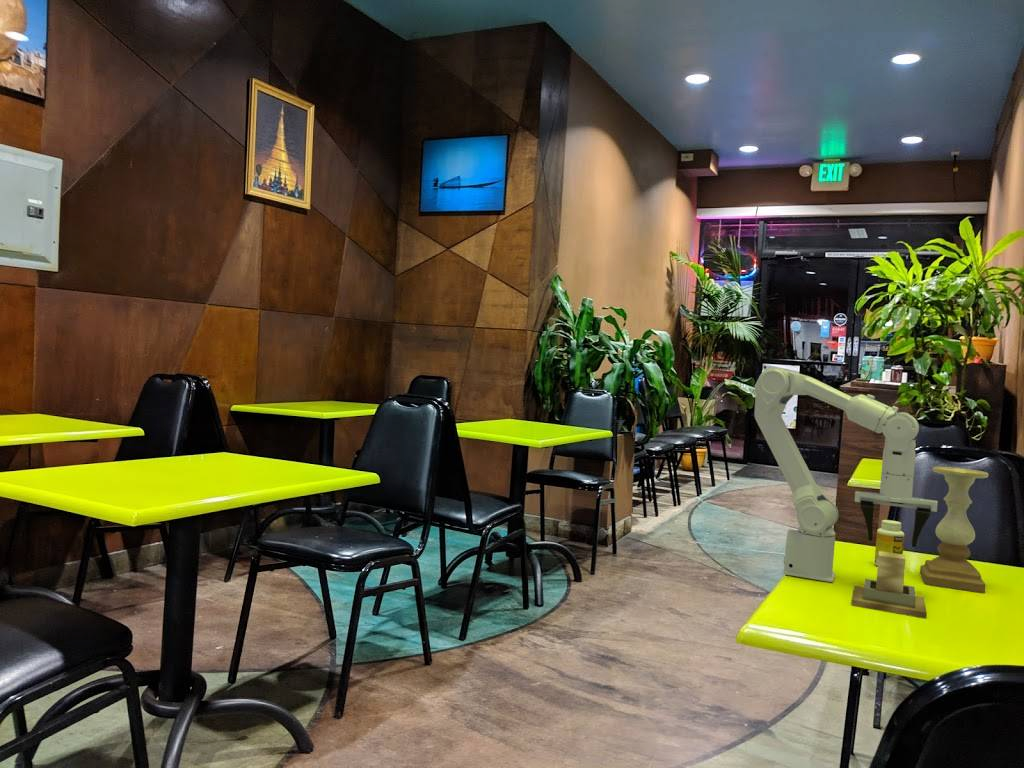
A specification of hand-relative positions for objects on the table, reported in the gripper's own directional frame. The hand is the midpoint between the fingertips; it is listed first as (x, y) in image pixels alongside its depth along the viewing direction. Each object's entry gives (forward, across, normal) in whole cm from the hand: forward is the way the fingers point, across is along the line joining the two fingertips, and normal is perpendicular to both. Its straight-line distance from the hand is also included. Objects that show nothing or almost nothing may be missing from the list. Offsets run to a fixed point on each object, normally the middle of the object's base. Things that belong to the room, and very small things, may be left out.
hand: (891, 543), depth 155 cm
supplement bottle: (+10, 0, +24) cm, 26 cm away
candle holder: (+10, +12, +17) cm, 23 cm away
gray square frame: (+9, 0, -11) cm, 14 cm away
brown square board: (+9, 0, -11) cm, 14 cm away
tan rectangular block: (+8, 0, -11) cm, 14 cm away
